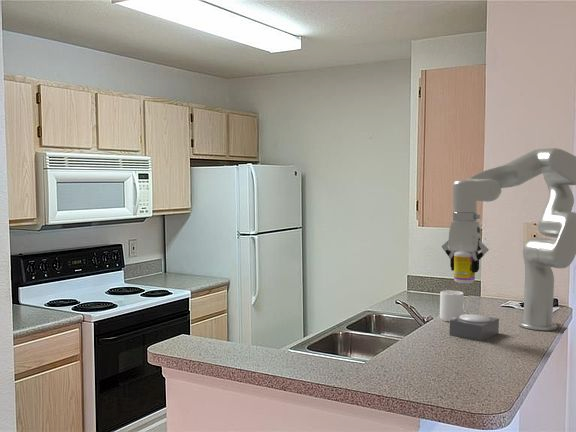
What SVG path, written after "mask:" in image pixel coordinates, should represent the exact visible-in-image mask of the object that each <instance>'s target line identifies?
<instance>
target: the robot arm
mask: <svg viewBox="0 0 576 432" xmlns="http://www.w3.org/2000/svg"><path fill="white" fill-rule="evenodd" d="M540 175H542V176H543V179H544V181H545V183H546V187H547V189H548V198H547V201H546V204H545V206H544V209H543V211H542V214H541V216H540V218H539V221H538V224H537V230H538V231H539V233H540V234H541V235H542V236H544V237H548V238H543V237H532V238H530V239H528V240H527V241H526V242H525V243H524V245H523V248H522V257H523V263H524V295H523V296H524V297H523V318H522V319H520V320H518V325H519V326H520V327H522V328H525V329H528V330H535V331H554V330H557V328H558V324H556V323H555V322H553V319H554V318H553V314H554V312H553V310H554V291H555V290H554V289H555V277H554V275H555V274H554V272H553V268H555V269H566V268H568V267H570V265H571V264H572V263H573V261H574V259H575V258H576V212H575V211H572V210H573V207H574V204H575V198H574V194H573V191H572V189H571V187H570V186H576V156H575V154H572V153H570V152H568V151H566V150H563V149H560V148H557V147H555V148H553V147H552V148H537V149H533V150H531V151H530V152H529V151H528V152H526V153H525V154H523V155H520V156H519V157H517V158H515V159H514V160H511V161H509V162H507V163H503V164H502V165H498V166H495V167H492V168H489V169H485V170H484V171H481V172H478V173H476V174H474V175H472V176H470V177H468V178H466V179H458V180H455V181H454V182H453V183H452V221H450V225H449V229H448V240H447V241H446V242H445V243H443V244H442V245H441V249H443V251H444V252H445V254H447V256H448V258H449V260H450V263H449V265H450V266H449V267H450V270H451V271H452V272H454V253H455V251H459V250H460V249H461V248H460V247H459V246H460V245H463V247H464V248H463V250H464V251H466V252H471V254H472V257H473V259H474V260H473V261H472V272H473V273H475V274H476V273H478V272H479V270H480V260H481V259H482V258H483V257H484V256H485V254H487V253H488V251H490V250H489V248H488V247H487V245H485V244H484V243H483V240H482V239H483V236H482V229H481V224H480V222H479V221H478V219H481V214H478V210H477V208H478V207H477V204H478V203H477V202H487V203H489V202H493V201H495V200H497V199H498V198H500V196H501V194H502V189H505V188H506V189H507V188H513V187H518V186H520V185H522V184H525V183H526V182H528V181H530V180H532V179H534V178H536V177H538V176H540ZM551 238H556V239H551Z"/></svg>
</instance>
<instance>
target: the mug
mask: <svg viewBox="0 0 576 432" xmlns="http://www.w3.org/2000/svg"><path fill="white" fill-rule="evenodd" d="M439 293H440V294H439V319H440V320H441V321H443V322H446V321H449V322H448V323H450V320H452V319H453V317H456V318H457V317H459V316H460V315H464V312H465V311H466V307H467V300H466V297H465V296H464V292H463V291H459V290H441V291H440V292H439Z"/></svg>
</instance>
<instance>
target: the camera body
mask: <svg viewBox="0 0 576 432" xmlns="http://www.w3.org/2000/svg"><path fill="white" fill-rule="evenodd" d="M499 322H500V318H497V317H492V316H486V315H482V314H473V313H466V314H464V313H463V315H460V316H459V317H457V318H456V317H453V319H452V320H450V322H449V336H454V337H458V338H463V339H468V340H473V341H478V342H483V341H484V340H487V339H490V338H491V337H493V336H495V335H496V336H497V335H498V334H499V329H500V327H499V325H500V323H499Z"/></svg>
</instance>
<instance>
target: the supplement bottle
mask: <svg viewBox="0 0 576 432" xmlns="http://www.w3.org/2000/svg"><path fill="white" fill-rule="evenodd" d="M459 247H460V248H461V249H460V250H459V251H455V253H454V271H453V280H454V281H455V283H459V284H471V283H475V280H476V277H475V276H476V273H473V272H472V261H473V260H474V259H473V257H472V254H471V252H466V251H464V250H463V248H464V247H463V245H460V246H459Z"/></svg>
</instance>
